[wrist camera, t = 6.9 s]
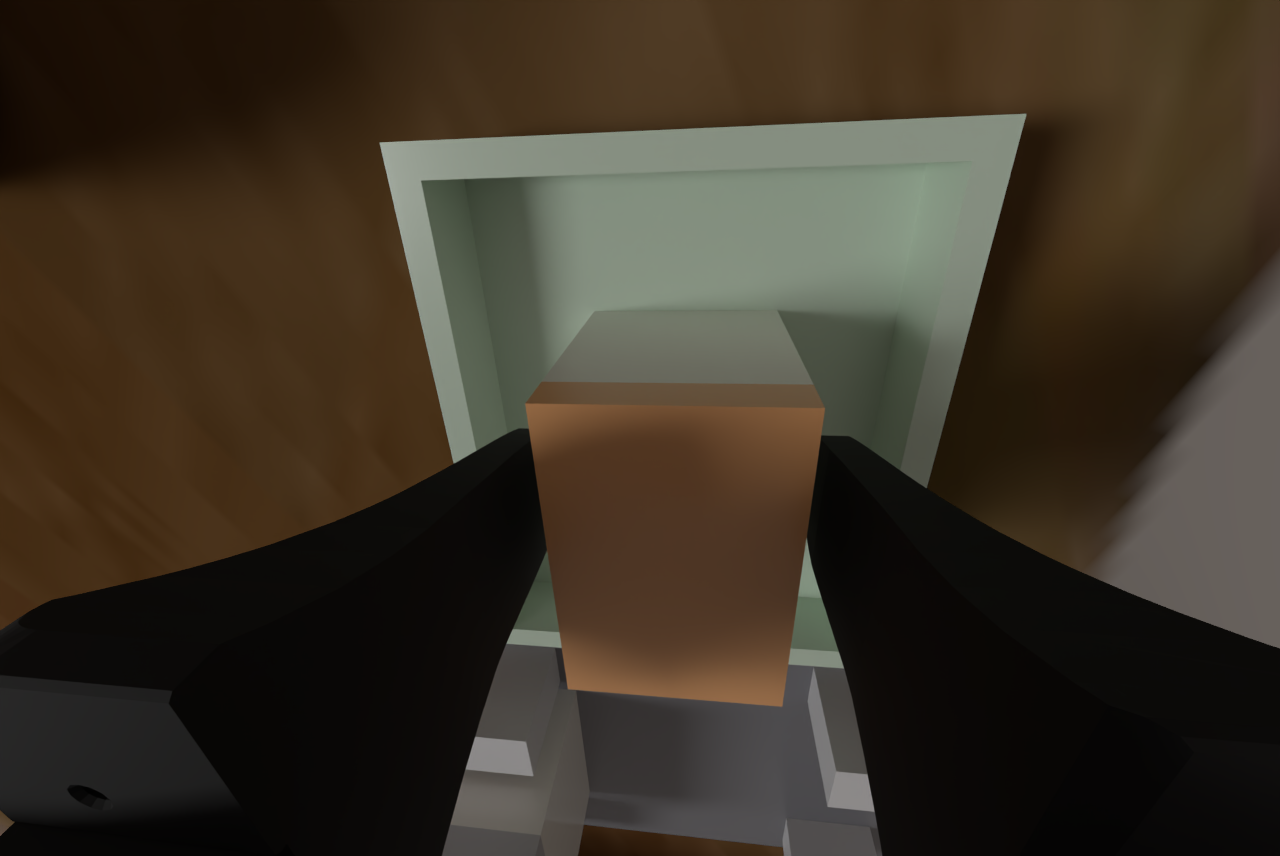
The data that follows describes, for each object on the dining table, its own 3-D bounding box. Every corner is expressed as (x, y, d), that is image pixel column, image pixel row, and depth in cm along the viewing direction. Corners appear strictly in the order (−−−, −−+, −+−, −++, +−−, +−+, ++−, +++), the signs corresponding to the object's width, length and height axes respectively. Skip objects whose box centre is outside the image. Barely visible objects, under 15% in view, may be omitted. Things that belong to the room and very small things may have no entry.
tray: (855, 602, 15) (877, 670, 13) (521, 583, 16) (495, 642, 14) (958, 124, 10) (1026, 113, 8) (441, 146, 11) (379, 142, 9)
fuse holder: (907, 838, 20) (947, 970, 17) (474, 790, 22) (433, 901, 19) (982, 645, 15) (1060, 780, 12) (416, 607, 17) (347, 714, 14)
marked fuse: (757, 532, 14) (782, 706, 9) (610, 525, 14) (567, 689, 10) (777, 310, 11) (825, 407, 7) (594, 311, 11) (525, 403, 7)
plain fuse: (589, 791, 20) (556, 970, 16) (491, 781, 20) (432, 951, 16) (575, 690, 17) (531, 872, 13) (462, 681, 18) (381, 853, 13)
